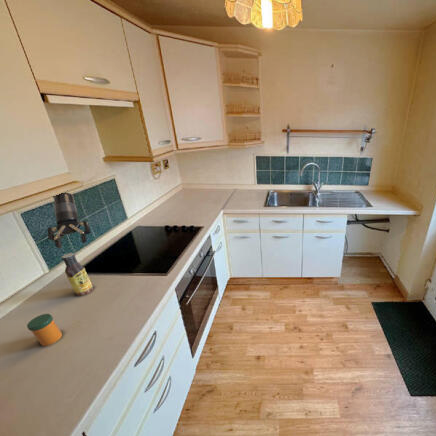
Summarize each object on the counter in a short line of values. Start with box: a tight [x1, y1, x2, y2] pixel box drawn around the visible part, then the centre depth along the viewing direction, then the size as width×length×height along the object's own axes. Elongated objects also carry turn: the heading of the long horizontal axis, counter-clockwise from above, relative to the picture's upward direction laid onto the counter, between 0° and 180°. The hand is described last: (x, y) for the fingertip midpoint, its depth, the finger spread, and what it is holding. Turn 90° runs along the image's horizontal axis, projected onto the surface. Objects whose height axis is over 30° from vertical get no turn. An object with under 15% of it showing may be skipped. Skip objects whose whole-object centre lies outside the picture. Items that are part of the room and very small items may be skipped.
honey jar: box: [31, 319, 63, 347], centre depth 82 cm, size 6×6×9 cm
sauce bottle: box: [61, 252, 94, 296], centre depth 101 cm, size 6×6×20 cm
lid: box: [26, 313, 54, 332], centre depth 80 cm, size 6×6×2 cm
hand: (72, 245), depth 105 cm, fingers open, 8 cm apart
